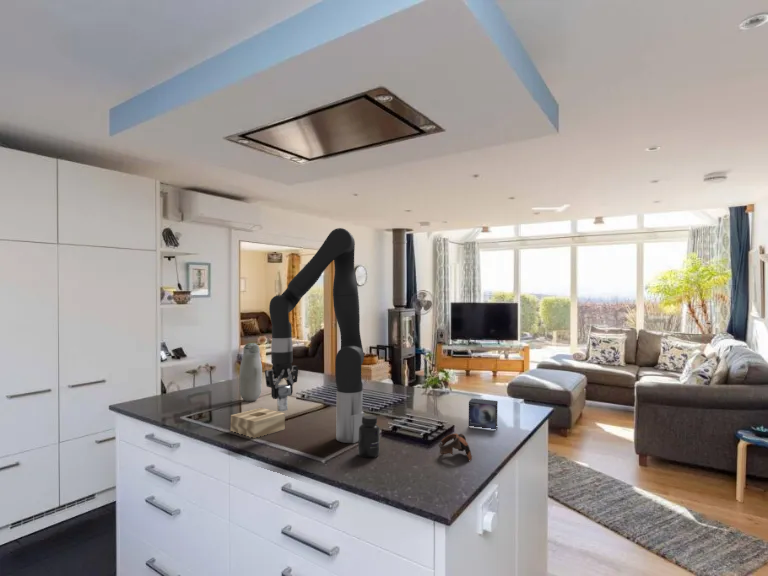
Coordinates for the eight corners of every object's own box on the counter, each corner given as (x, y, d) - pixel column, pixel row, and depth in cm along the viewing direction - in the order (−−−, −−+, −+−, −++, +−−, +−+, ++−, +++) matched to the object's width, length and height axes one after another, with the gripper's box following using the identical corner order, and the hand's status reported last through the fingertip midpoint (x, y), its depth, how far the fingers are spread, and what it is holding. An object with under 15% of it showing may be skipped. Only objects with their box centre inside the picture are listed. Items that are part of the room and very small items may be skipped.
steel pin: (294, 409, 156) (294, 385, 157) (281, 412, 152) (281, 388, 152) (283, 406, 160) (282, 383, 160) (270, 410, 155) (270, 386, 155)
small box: (467, 428, 168) (467, 401, 168) (471, 424, 174) (471, 397, 174) (495, 431, 164) (495, 404, 164) (497, 427, 170) (497, 400, 170)
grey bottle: (235, 401, 208) (236, 343, 209) (252, 397, 217) (253, 341, 217) (248, 404, 203) (249, 344, 203) (265, 400, 211) (266, 342, 212)
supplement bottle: (376, 459, 135) (377, 420, 135) (355, 457, 136) (356, 419, 136) (381, 451, 141) (381, 414, 142) (361, 450, 143) (361, 413, 143)
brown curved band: (471, 466, 131) (457, 443, 131) (445, 474, 135) (431, 451, 135) (478, 444, 142) (466, 423, 142) (454, 452, 146) (442, 431, 146)
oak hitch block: (284, 429, 165) (284, 413, 165) (254, 438, 153) (254, 421, 153) (260, 422, 173) (261, 407, 173) (230, 431, 161) (230, 415, 162)
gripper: (273, 353, 148) (273, 402, 148) (303, 348, 160) (304, 394, 159) (259, 351, 153) (259, 399, 152) (289, 347, 164) (290, 392, 164)
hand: (282, 396), depth 156 cm, fingers closed on steel pin, 6 cm apart
